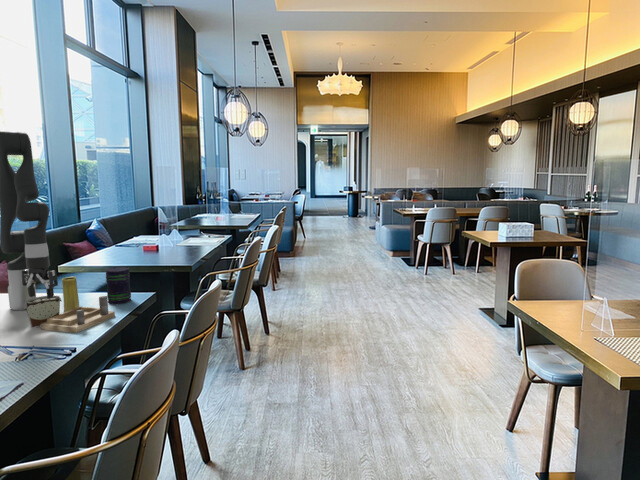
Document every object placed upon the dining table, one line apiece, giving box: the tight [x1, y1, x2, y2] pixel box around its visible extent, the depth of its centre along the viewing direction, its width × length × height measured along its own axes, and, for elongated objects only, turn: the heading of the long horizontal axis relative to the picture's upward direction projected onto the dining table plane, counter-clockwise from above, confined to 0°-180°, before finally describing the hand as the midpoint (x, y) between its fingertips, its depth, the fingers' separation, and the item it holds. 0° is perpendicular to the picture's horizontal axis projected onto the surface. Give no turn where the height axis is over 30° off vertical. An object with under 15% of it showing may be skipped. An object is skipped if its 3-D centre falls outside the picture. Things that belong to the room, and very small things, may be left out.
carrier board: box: [40, 295, 116, 334], centre depth 174 cm, size 16×20×9 cm
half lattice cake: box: [25, 295, 63, 329], centre depth 174 cm, size 12×6×10 cm, turn 135°
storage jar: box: [105, 266, 132, 305], centre depth 203 cm, size 10×10×15 cm
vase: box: [61, 276, 80, 313], centre depth 188 cm, size 6×6×14 cm
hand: (41, 297), depth 173 cm, fingers open, 8 cm apart
